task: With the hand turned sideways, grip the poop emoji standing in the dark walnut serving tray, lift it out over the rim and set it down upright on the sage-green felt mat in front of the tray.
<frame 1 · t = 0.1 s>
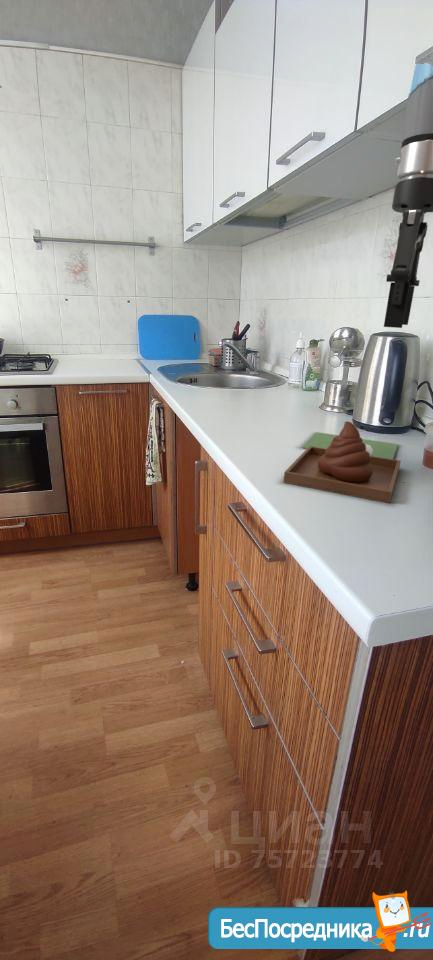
hand: (396, 326, 80), 25 cm above the countertop, tool pointing down, fingers open, 13 cm apart
mat: (350, 446, 100), on the countertop
poop emoji: (344, 474, 83), resting in tray
tray: (344, 476, 83), on the countertop
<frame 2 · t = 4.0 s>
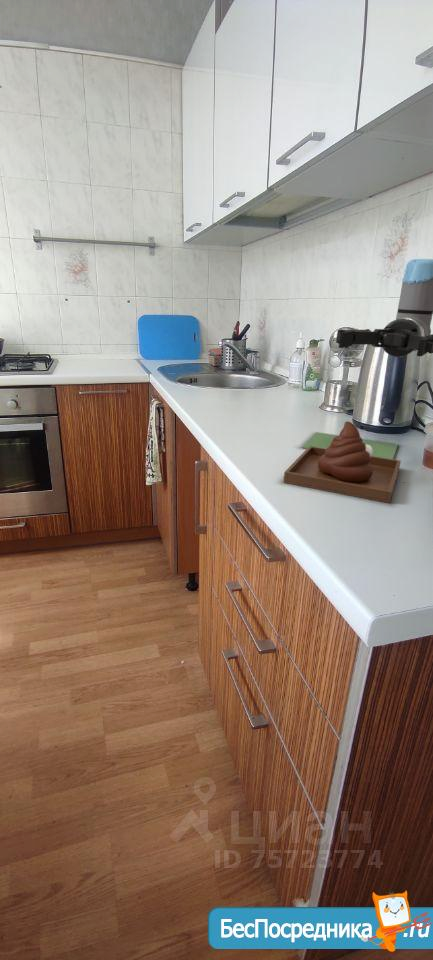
hand: (379, 344, 82), 22 cm above the countertop, tool horizontal, fingers open, 13 cm apart
nothing on the countertop moved.
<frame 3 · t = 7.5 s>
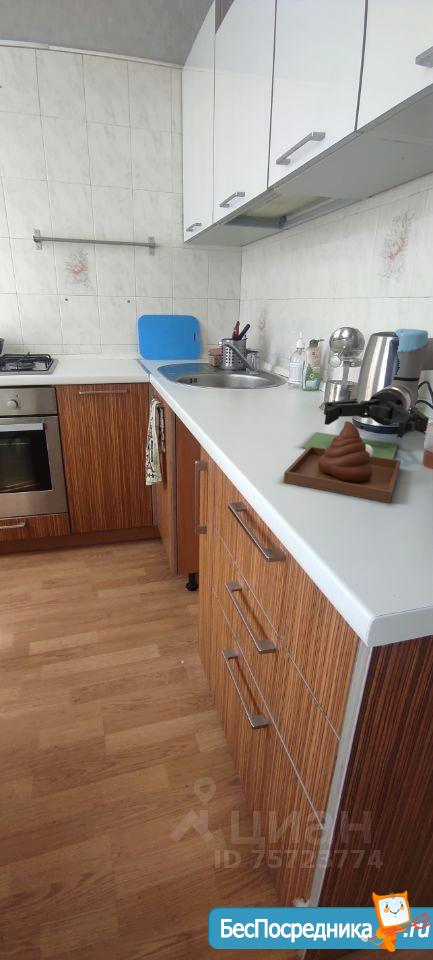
hand: (362, 423, 86), 8 cm above the countertop, tool horizontal, fingers open, 13 cm apart
nothing on the countertop moved.
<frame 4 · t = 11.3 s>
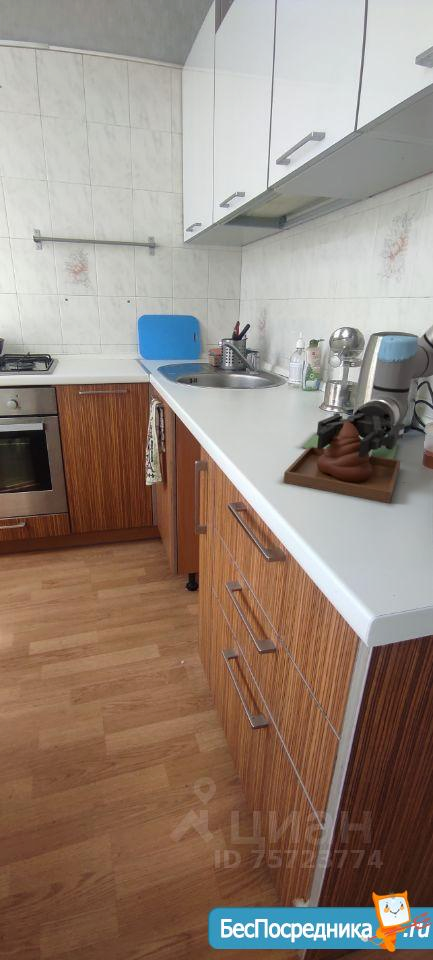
hand: (340, 445, 76), 7 cm above the countertop, tool horizontal, fingers closed on poop emoji, 6 cm apart
poop emoji: (343, 474, 83), resting in tray, touching gripper
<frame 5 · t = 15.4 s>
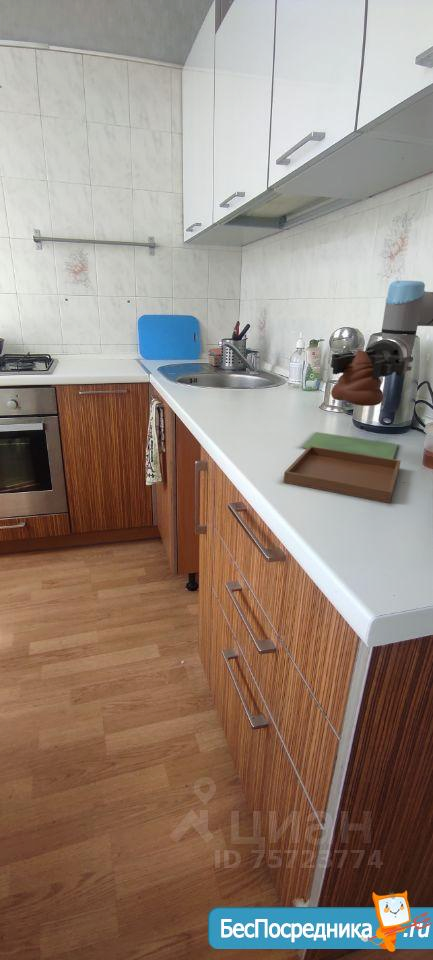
hand: (354, 368, 82), 18 cm above the countertop, tool horizontal, fingers closed on poop emoji, 6 cm apart
poop emoji: (356, 402, 88), point 11 cm above the countertop, touching gripper
when the fingers open (7 cm above the countertop, at t = 20.0 s): poop emoji stays where it is, resting on mat.
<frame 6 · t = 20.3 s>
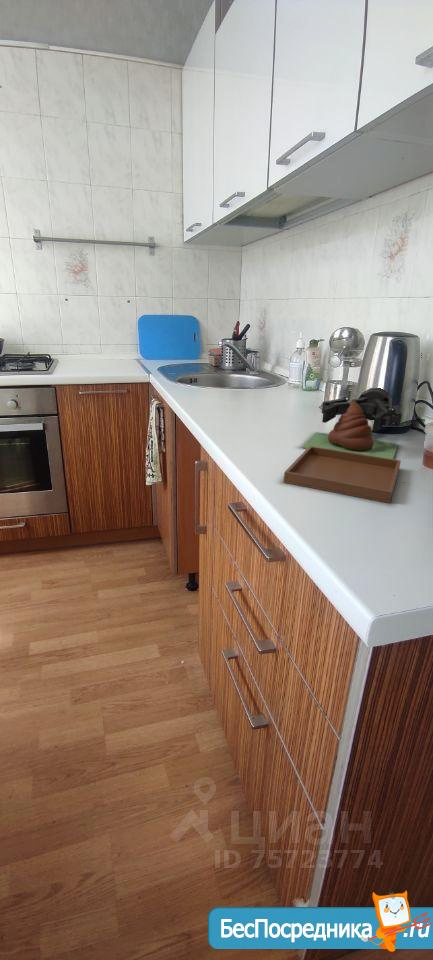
hand: (349, 420, 94), 7 cm above the countertop, tool horizontal, fingers open, 10 cm apart
poop emoji: (349, 446, 100), resting on mat
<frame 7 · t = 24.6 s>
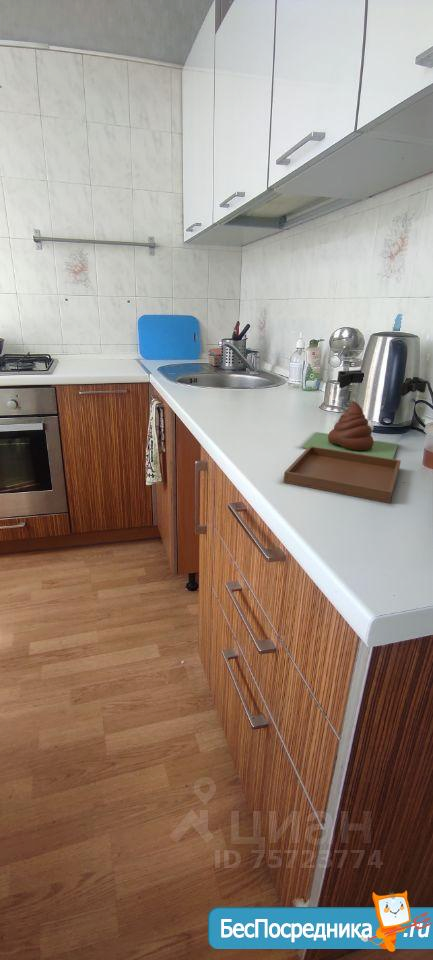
hand: (371, 385, 103), 12 cm above the countertop, tool horizontal, fingers open, 13 cm apart
nothing on the countertop moved.
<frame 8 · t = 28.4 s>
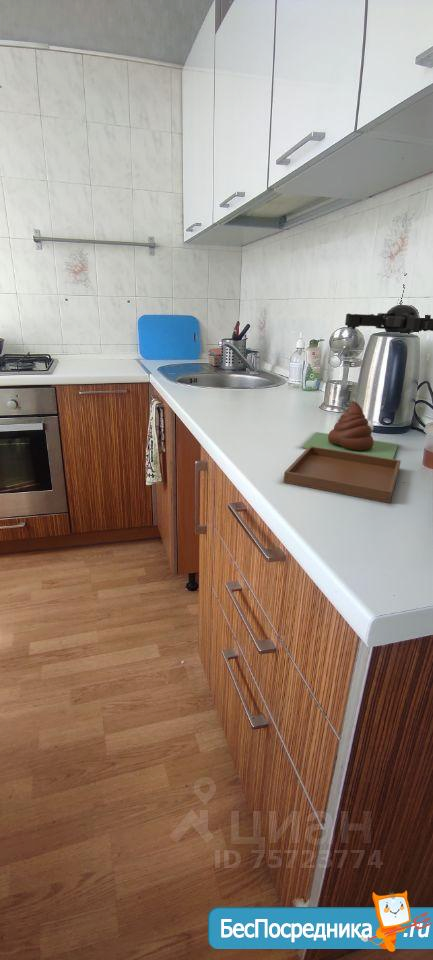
hand: (381, 323, 98), 25 cm above the countertop, tool horizontal, fingers open, 13 cm apart
nothing on the countertop moved.
at the end: poop emoji inside the target area on the mat (0.2 cm from its centre), point 0.1 cm above the mat's base; poop emoji tilted 0°; the gripper is holding nothing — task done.
